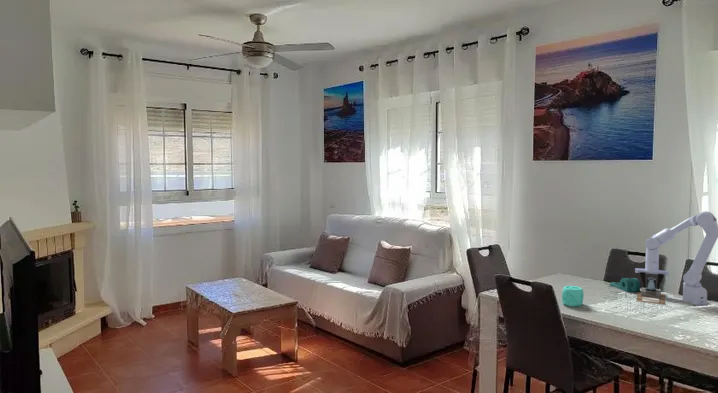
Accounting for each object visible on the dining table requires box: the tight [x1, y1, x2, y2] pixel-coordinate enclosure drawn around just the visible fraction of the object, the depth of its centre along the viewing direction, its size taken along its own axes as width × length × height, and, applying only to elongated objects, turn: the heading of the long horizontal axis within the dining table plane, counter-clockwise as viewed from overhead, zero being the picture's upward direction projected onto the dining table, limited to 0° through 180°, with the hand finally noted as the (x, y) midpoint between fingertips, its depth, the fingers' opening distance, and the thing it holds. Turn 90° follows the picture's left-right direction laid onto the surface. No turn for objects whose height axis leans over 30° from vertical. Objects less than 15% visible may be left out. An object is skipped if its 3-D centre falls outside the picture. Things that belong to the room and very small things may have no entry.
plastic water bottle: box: [646, 276, 657, 292], centre depth 254 cm, size 4×4×9 cm
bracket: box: [609, 277, 641, 293], centre depth 269 cm, size 18×7×8 cm, turn 4°
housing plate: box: [635, 286, 666, 306], centre depth 249 cm, size 22×12×4 cm, turn 150°
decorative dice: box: [561, 285, 584, 308], centre depth 242 cm, size 8×8×8 cm
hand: (651, 288), depth 254 cm, fingers open, 5 cm apart
